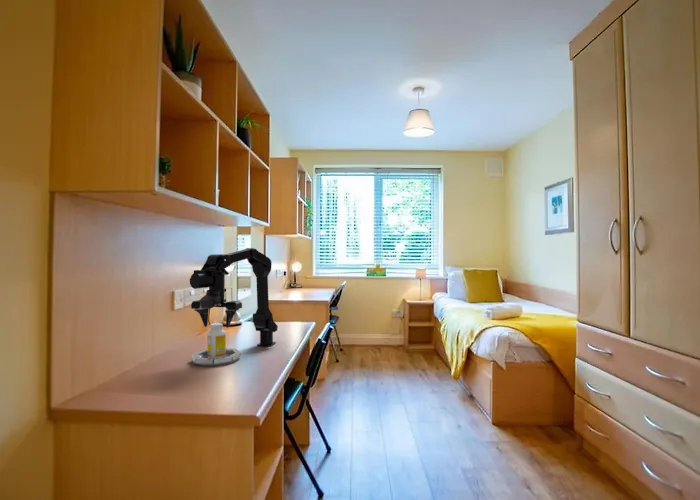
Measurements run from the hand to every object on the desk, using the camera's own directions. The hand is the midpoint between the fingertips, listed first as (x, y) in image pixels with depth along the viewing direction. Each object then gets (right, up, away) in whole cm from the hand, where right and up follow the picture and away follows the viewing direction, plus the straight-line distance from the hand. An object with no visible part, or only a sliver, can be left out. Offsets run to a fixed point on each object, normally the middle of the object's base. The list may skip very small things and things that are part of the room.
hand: (216, 327), depth 147 cm
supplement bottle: (0, -12, 0) cm, 12 cm away
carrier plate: (0, -13, 0) cm, 13 cm away
